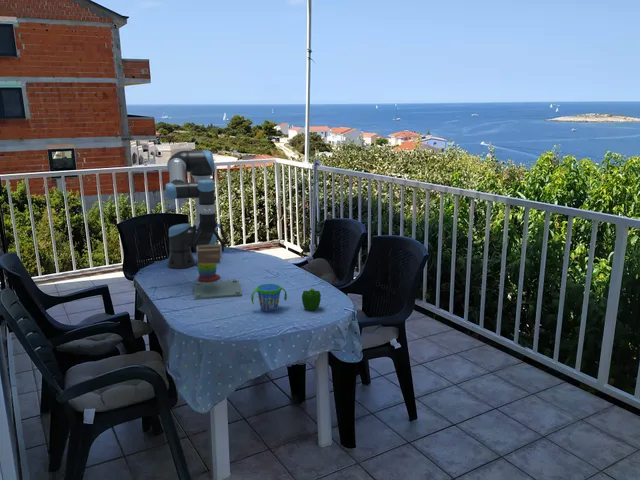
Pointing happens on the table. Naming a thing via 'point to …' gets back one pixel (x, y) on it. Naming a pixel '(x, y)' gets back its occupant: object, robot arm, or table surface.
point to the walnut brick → (208, 254)
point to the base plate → (217, 289)
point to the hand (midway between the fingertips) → (209, 258)
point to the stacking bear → (207, 272)
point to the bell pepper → (311, 299)
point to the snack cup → (268, 296)
